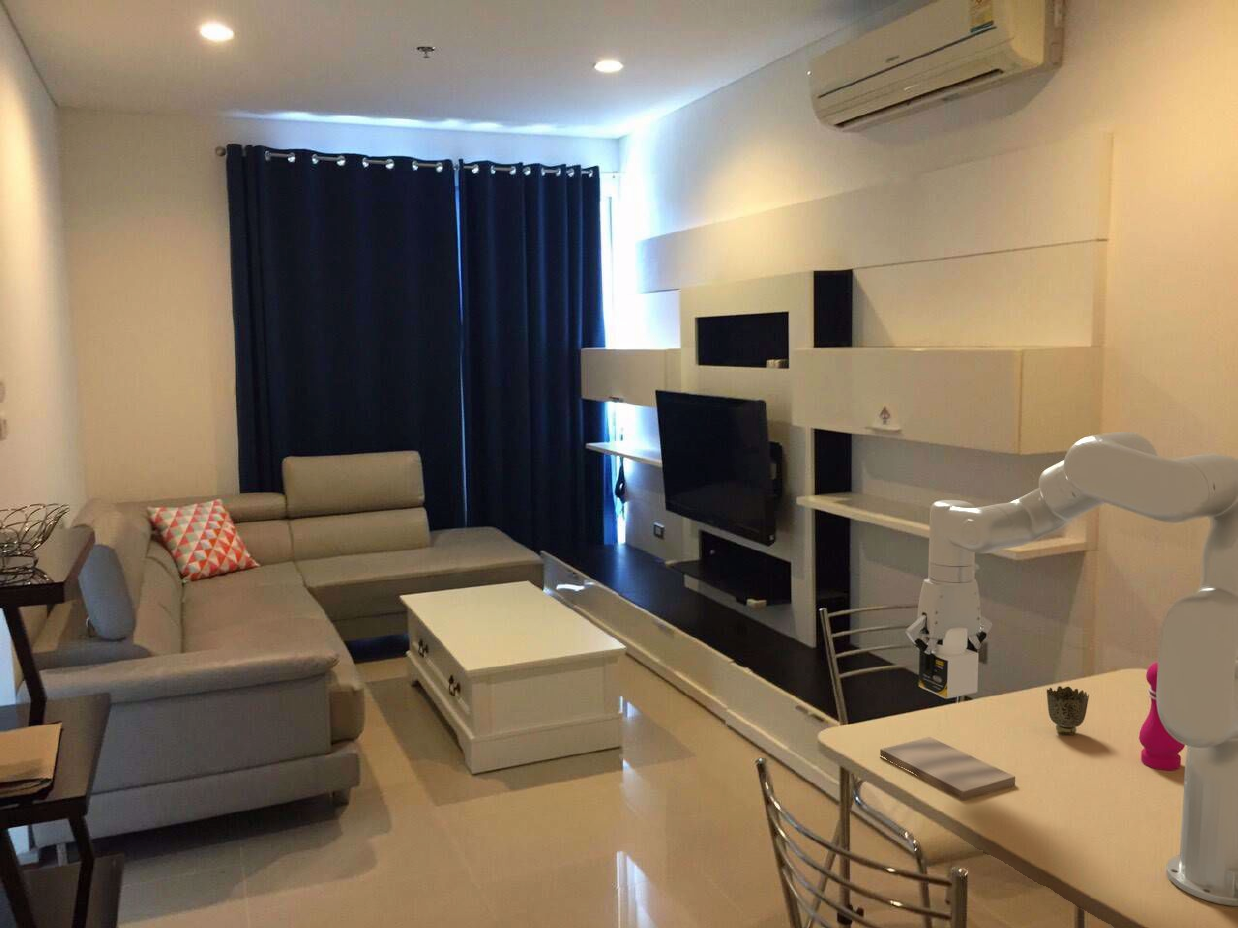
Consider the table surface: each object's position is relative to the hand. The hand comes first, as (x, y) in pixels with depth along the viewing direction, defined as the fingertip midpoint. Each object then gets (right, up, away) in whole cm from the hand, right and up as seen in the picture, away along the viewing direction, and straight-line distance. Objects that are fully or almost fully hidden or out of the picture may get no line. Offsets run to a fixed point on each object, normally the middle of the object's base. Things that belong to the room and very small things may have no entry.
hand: (948, 671), depth 180 cm
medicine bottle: (0, -4, 0) cm, 4 cm away
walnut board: (0, -18, +2) cm, 18 cm away
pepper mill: (+39, -18, +4) cm, 43 cm away
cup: (+29, -16, +19) cm, 38 cm away
